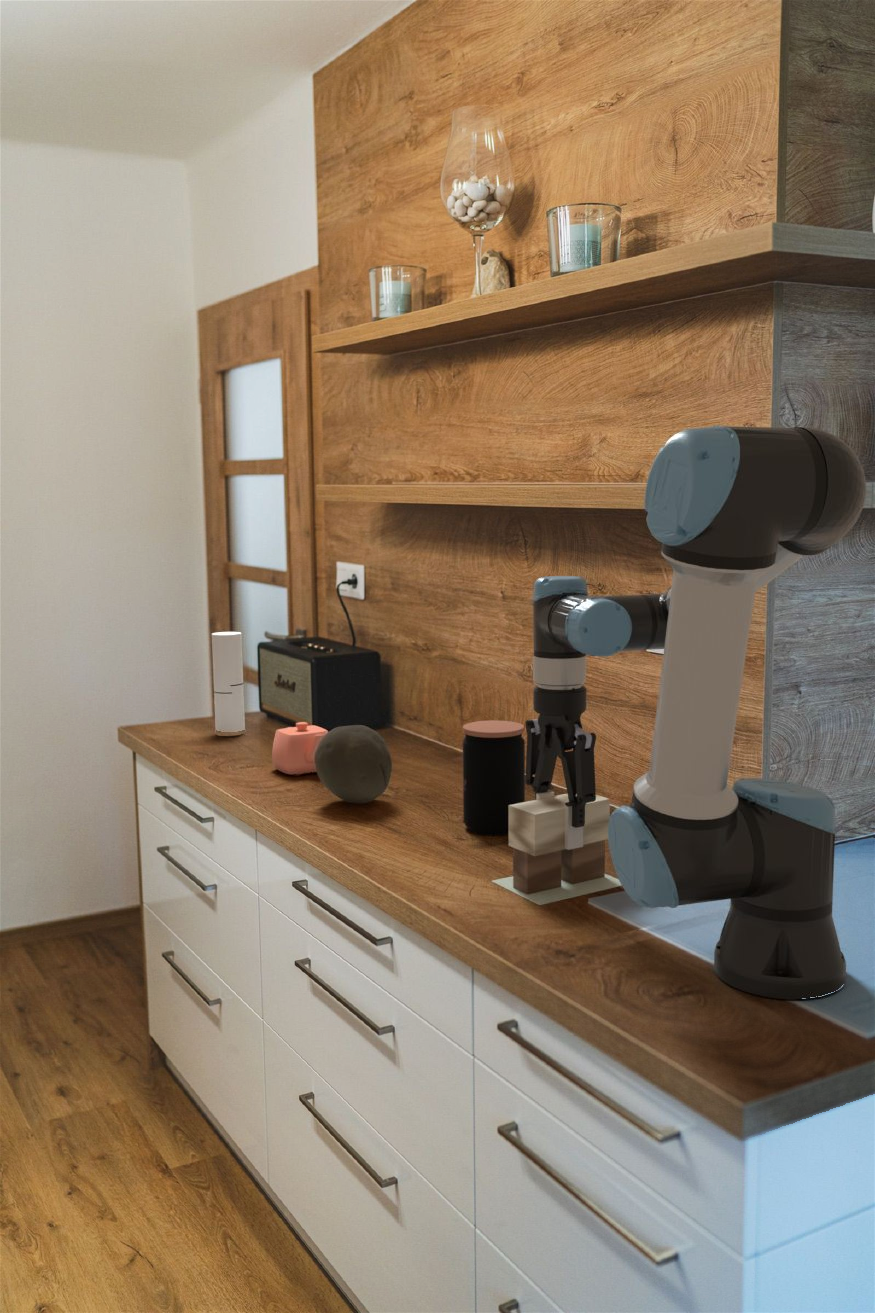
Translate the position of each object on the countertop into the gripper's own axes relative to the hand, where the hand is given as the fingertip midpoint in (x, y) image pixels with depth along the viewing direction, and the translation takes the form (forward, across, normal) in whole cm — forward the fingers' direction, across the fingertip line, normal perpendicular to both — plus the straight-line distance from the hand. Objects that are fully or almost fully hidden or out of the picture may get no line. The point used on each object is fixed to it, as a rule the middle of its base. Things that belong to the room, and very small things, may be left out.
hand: (559, 841), depth 167 cm
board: (+7, 0, 0) cm, 7 cm away
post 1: (+6, 0, +4) cm, 7 cm away
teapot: (+8, +89, 0) cm, 89 cm away
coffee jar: (+8, +32, -10) cm, 34 cm away
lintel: (0, 0, 0) cm, 0 cm away
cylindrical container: (+8, +135, -1) cm, 135 cm away
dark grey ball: (+8, +60, +3) cm, 60 cm away
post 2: (+6, 0, -4) cm, 7 cm away
